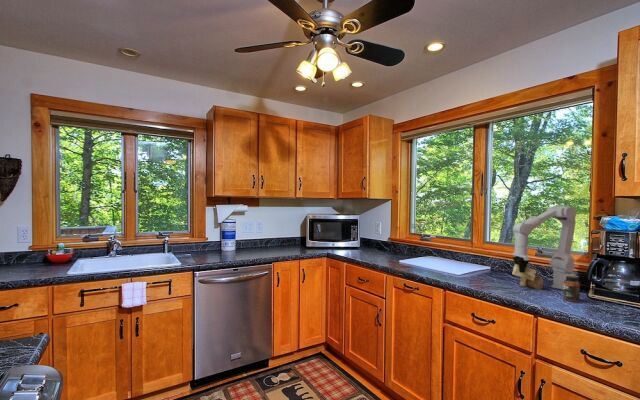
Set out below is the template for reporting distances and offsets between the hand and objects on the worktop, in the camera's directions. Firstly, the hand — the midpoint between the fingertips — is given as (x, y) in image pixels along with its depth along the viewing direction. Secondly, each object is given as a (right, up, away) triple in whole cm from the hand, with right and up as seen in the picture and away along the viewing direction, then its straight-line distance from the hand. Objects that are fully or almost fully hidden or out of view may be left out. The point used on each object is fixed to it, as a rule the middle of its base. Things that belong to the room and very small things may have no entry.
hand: (520, 271), depth 163 cm
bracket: (+8, -9, +3) cm, 12 cm away
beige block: (+1, -3, 0) cm, 3 cm away
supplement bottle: (+12, -9, -18) cm, 24 cm away
